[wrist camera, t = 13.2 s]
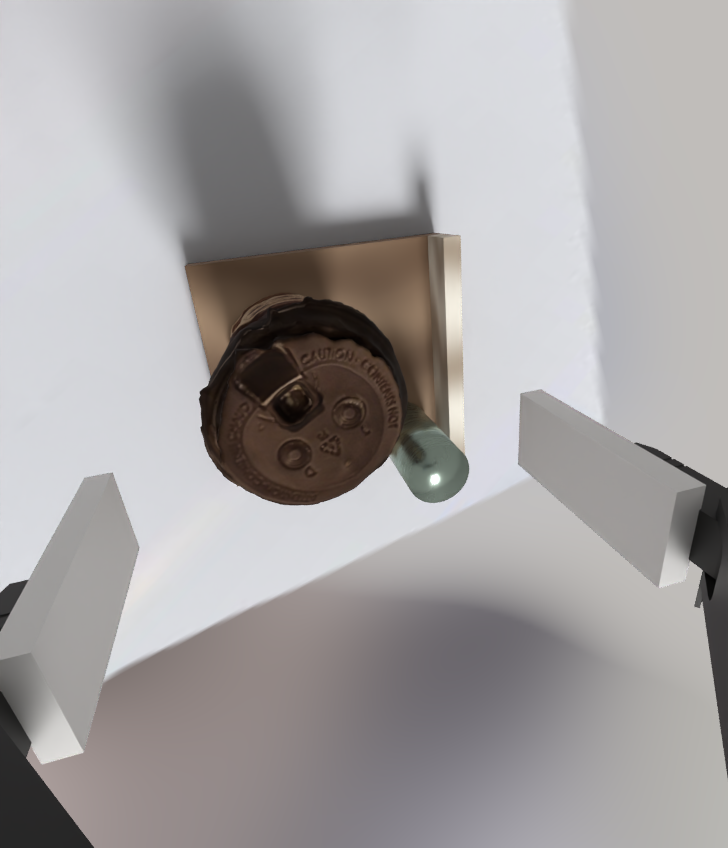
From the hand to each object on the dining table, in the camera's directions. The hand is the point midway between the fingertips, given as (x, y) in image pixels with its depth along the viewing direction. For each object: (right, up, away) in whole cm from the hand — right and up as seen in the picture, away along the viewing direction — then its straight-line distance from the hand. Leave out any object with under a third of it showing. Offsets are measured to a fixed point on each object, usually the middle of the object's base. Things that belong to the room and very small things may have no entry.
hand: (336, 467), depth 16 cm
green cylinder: (+3, +1, +18) cm, 18 cm away
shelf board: (-1, +6, +17) cm, 18 cm away
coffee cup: (-4, +6, +14) cm, 16 cm away
